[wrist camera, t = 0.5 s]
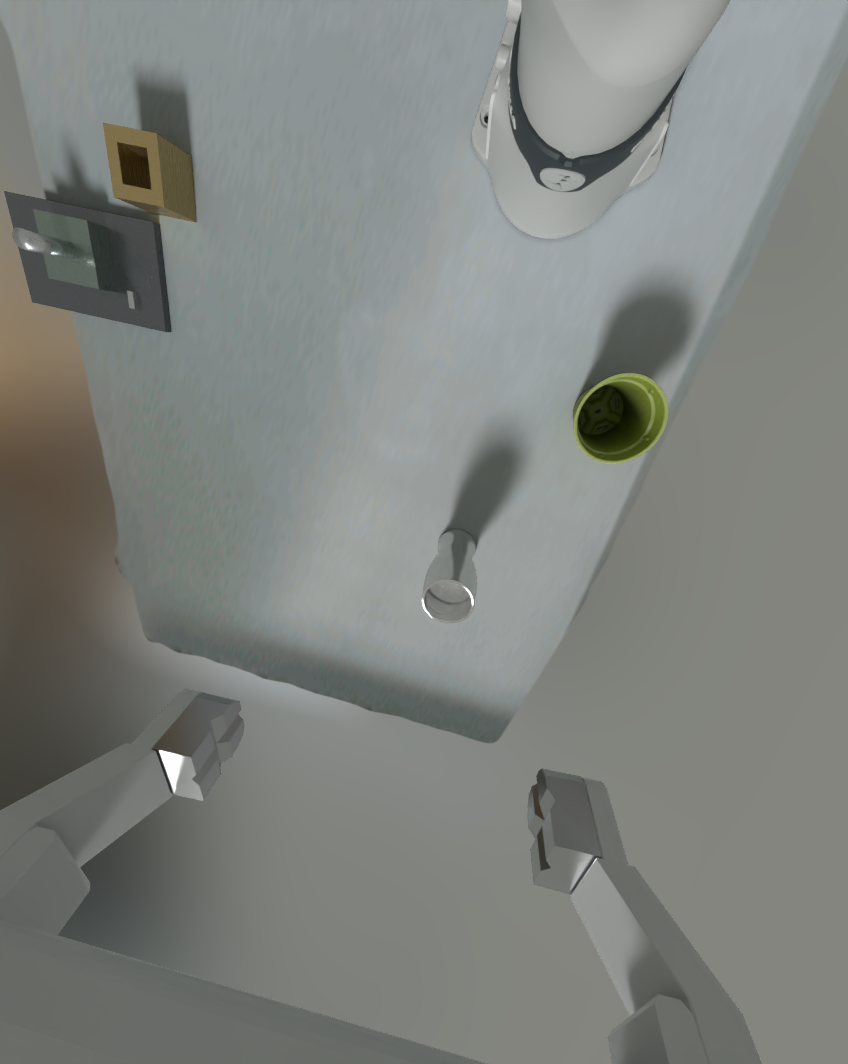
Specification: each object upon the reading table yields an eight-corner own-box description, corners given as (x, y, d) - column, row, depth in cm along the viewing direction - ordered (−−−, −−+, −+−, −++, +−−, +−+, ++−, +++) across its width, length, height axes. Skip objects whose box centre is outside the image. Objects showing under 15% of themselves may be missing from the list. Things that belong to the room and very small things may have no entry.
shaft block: (13, 194, 46) (-79, 162, 39) (159, 224, 45) (93, 197, 38) (40, 303, 52) (-37, 293, 44) (171, 332, 51) (116, 327, 43)
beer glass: (462, 518, 56) (454, 568, 43) (487, 552, 58) (487, 610, 45) (426, 540, 59) (408, 594, 45) (451, 571, 60) (441, 632, 47)
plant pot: (626, 355, 44) (656, 355, 36) (646, 428, 47) (678, 442, 39) (549, 392, 47) (562, 399, 39) (572, 458, 50) (588, 477, 42)
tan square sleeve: (143, 147, 42) (102, 122, 38) (191, 157, 42) (156, 133, 38) (150, 212, 45) (114, 196, 41) (196, 222, 45) (164, 207, 40)
